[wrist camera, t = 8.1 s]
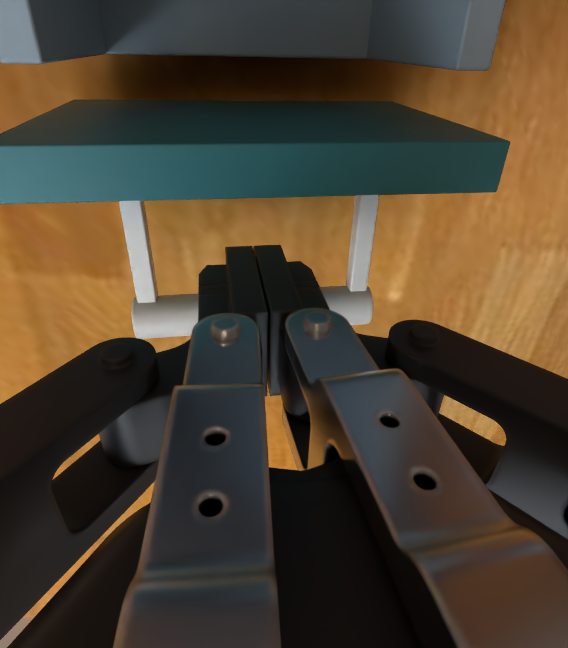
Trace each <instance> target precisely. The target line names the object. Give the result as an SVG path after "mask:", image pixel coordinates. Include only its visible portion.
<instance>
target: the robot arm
mask: <svg viewBox="0 0 568 648" xmlns="http://www.w3.org/2000/svg"><path fill="white" fill-rule="evenodd" d="M225 252H226V265H207V266H206V267H205V268H204V269H203V270H202V272H201V273H200V274H199V297H198V322H197V323H196V324H195V326H194V327H193V329H192V334H191V339H190V340H189V341H187V342H186V343H184V344H182V345H180V346H178V347H176V348H172V349H169V350H166V351H162V352H158V353H156V351H155V349H154V347H153V346H152V345H151V344H150V343H149V342H147V341H145V340H142V339H138V338H116V339H111V340H108V341H104V342H102V343H99V344H97V345H95V346H93V347H92V348H90V349H88V350H87V351H85V352H84V353H82V354H80V355H79V356H77V357H76V358H74V359H72V360H71V361H69V362H67V363H66V364H64V365H63V366H61V367H59V368H58V369H56V370H55V371H53V372H51V373H50V374H48V375H47V376H45V377H43V378H42V379H40V380H39V381H37V382H35V383H34V384H32V385H30V386H29V387H27V388H26V389H24V390H22V391H21V392H19V393H18V394H16V395H14V396H13V397H11V398H10V399H8V400H6V401H5V402H3V403H2V404H0V640H1V639H2V638H3V637H4V636H5V635H6V634H7V633H8V631H10V629H12V627H13V626H14V625H15V624H16V623H17V622H18V621H19V620H20V619H21V618H22V617H23V616H24V615H25V614H26V613H27V612H28V611H29V610H30V609H31V608H32V607H33V606H34V605H35V604H36V603H37V602H38V601H39V600H40V599H41V598H42V597H43V596H44V595H45V594H46V592H47V591H48V590H49V589H50V588H51V587H52V586H53V585H54V584H55V583H56V582H57V581H58V580H59V579H60V578H61V577H62V576H63V575H64V574H65V573H66V572H67V571H68V570H69V569H70V568H71V567H72V566H73V565H74V564H75V563H76V562H77V561H78V560H79V558H80V557H81V556H82V555H83V554H84V553H85V552H86V551H87V550H88V549H89V548H90V547H91V546H92V545H93V544H94V543H95V542H96V541H97V540H98V539H99V538H100V537H101V536H102V535H103V534H104V533H105V532H106V531H107V530H108V529H109V528H110V527H111V526H112V524H113V523H114V522H115V521H116V520H117V519H118V518H119V517H120V516H121V515H122V514H123V513H124V512H125V511H126V510H127V509H128V508H129V507H130V506H131V505H132V504H133V503H134V502H135V501H136V500H137V499H138V498H139V497H140V496H141V495H142V494H143V493H144V492H145V490H146V489H147V488H148V487H149V486H150V485H151V484H152V483H153V482H154V481H155V484H154V489H153V494H152V499H151V503H149V504H148V505H146V506H144V507H142V508H141V509H139V510H138V511H137V512H135V513H134V514H132V515H131V516H130V517H128V518H127V519H126V520H125V521H124V522H122V523H121V524H120V525H119V526H118V527H117V528H116V529H115V530H114V531H113V532H112V533H111V534H110V535H109V536H108V537H107V538H106V539H105V540H104V541H103V542H102V543H101V544H100V546H99V547H98V548H97V549H96V550H95V551H94V552H93V553H92V554H91V556H90V557H89V558H88V559H87V560H86V561H85V562H84V563H83V564H82V565H81V567H80V568H79V569H78V570H77V571H76V572H75V573H74V574H73V575H72V577H71V578H70V579H69V580H68V581H67V582H66V583H65V584H64V585H63V586H62V588H61V589H60V590H59V591H58V592H57V593H56V594H55V595H54V596H53V598H52V599H51V600H50V601H49V602H48V603H47V604H46V605H45V606H44V607H43V609H42V610H41V611H40V612H39V613H38V614H37V615H36V616H35V617H34V619H33V620H32V621H31V622H30V623H29V624H28V625H27V626H26V627H25V628H24V630H23V631H22V632H21V633H20V634H19V635H18V636H17V637H16V639H15V640H14V641H13V642H12V643H11V644H10V645H9V646H8V647H7V648H568V379H566V378H564V377H562V376H559V375H557V374H555V373H552V372H550V371H547V370H545V369H543V368H540V367H538V366H535V365H533V364H531V363H528V362H526V361H524V360H521V359H519V358H516V357H514V356H512V355H509V354H507V353H504V352H502V351H500V350H497V349H495V348H493V347H490V346H488V345H485V344H483V343H481V342H478V341H476V340H473V339H471V338H469V337H466V336H464V335H462V334H459V333H457V332H454V331H452V330H450V329H447V328H445V327H442V326H440V325H438V324H435V323H432V322H428V321H422V320H406V321H401V322H398V323H396V324H395V325H393V326H392V327H391V329H390V331H389V336H388V338H382V337H375V336H367V335H362V334H358V333H355V331H354V330H353V328H352V326H351V325H350V323H349V322H348V320H347V319H346V318H345V317H344V316H342V315H341V314H339V313H337V312H335V311H332V310H330V308H329V306H328V304H327V302H326V300H325V298H324V296H323V293H322V291H321V289H319V285H318V283H317V281H316V278H315V276H314V274H313V272H312V270H311V269H310V268H309V267H307V266H306V265H305V264H303V263H302V262H300V261H295V262H287V261H286V258H285V256H284V253H283V250H282V248H281V245H262V246H254V248H252V246H237V247H225ZM267 383H268V388H269V394H270V396H273V395H281V397H282V401H283V407H282V421H283V425H284V428H285V431H286V434H287V437H288V441H289V444H290V447H291V450H292V453H293V457H294V460H295V463H296V466H297V469H298V470H288V469H279V468H269V463H268V446H267V430H266V413H265V396H267ZM444 395H446V396H448V397H450V398H452V399H454V400H456V401H458V402H460V403H462V404H464V405H466V406H468V407H470V408H472V409H473V410H475V411H477V412H479V413H481V414H483V415H485V416H487V417H489V418H491V419H493V420H494V421H496V422H497V423H498V424H499V425H500V426H501V427H502V428H503V430H504V432H505V434H506V444H505V446H501V445H497V444H495V443H493V442H491V441H489V440H488V439H486V438H484V437H482V436H480V435H478V434H476V433H475V432H473V431H471V430H469V429H467V428H465V427H464V426H462V425H460V424H458V423H456V422H454V421H452V420H451V419H449V418H447V417H445V416H443V415H441V414H440V413H439V410H440V407H441V403H442V400H443V396H444ZM97 434H99V436H100V441H99V442H98V443H97V444H96V445H94V446H93V447H92V448H91V449H90V450H88V451H87V452H86V453H85V454H84V455H82V456H81V457H80V458H79V459H78V460H76V461H75V462H74V463H73V464H71V465H70V466H69V467H68V468H67V469H65V470H64V471H63V472H62V473H61V474H59V475H58V476H57V477H56V478H55V479H53V476H54V474H55V472H56V471H57V469H58V468H59V467H60V465H61V464H62V463H63V462H64V461H65V460H66V459H68V458H69V457H70V456H71V455H73V454H74V453H75V452H76V451H78V450H79V449H80V448H81V447H82V446H84V445H85V444H86V443H87V442H89V441H90V440H91V439H92V438H94V437H95V436H96V435H97ZM52 479H53V480H52Z"/></svg>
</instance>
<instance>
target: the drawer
mask: <svg viewBox="0 0 568 648" xmlns="http://www.w3.org/2000/svg"><path fill="white" fill-rule="evenodd" d="M505 2H506V0H0V62H2V63H23V64H42V63H49V62H56V61H62V60H69V59H75V58H82V57H88V56H95V55H101V54H135V55H188V56H241V57H295V58H348V59H372V60H380V61H388V62H396V63H404V64H412V65H420V66H428V67H435V68H443V69H451V70H469V71H486V70H489V68H490V65H491V61H492V57H493V53H494V48H495V44H496V40H497V36H498V31H499V27H500V23H501V19H502V14H503V10H504V6H505ZM509 145H510V141H508V140H505V139H502V138H499V137H496V136H493V135H490V134H487V133H484V132H481V131H478V130H475V129H472V128H469V127H466V126H463V125H460V124H457V123H454V122H451V121H448V120H445V119H443V118H440V117H437V116H434V115H431V114H428V113H425V112H422V111H419V110H416V109H413V108H410V107H407V106H404V105H401V104H398V103H395V102H392V101H226V100H72V101H70V102H68V103H66V104H64V105H61V106H59V107H57V108H55V109H53V110H51V111H49V112H46V113H44V114H42V115H40V116H38V117H36V118H33V119H31V120H29V121H27V122H25V123H23V124H20V125H18V126H16V127H14V128H12V129H10V130H7V131H5V132H3V133H1V134H0V204H23V203H65V202H106V201H119V205H120V210H121V216H122V221H123V227H124V232H125V237H126V243H127V248H128V254H129V259H130V265H131V270H132V276H133V281H134V287H135V292H136V297H135V298H134V299H133V302H132V325H133V330H134V333H135V336H136V337H137V338H138V339H144V338H160V337H175V336H191V334H192V329H193V327H194V326H195V324H196V323H197V322H198V297H199V294H181V295H162V296H157V295H158V290H157V284H156V277H155V271H154V264H153V258H152V251H151V244H150V238H149V231H148V225H147V218H146V212H145V205H144V201H148V200H190V199H231V198H273V197H315V196H355V204H354V213H353V222H352V232H351V241H350V250H349V260H348V269H347V278H346V285H347V286H335V287H319V289H321V291H322V293H323V296H324V298H325V300H326V302H327V304H328V306H329V308H330V310H332V311H335V312H337V313H339V314H341V315H342V316H344V317H345V318H346V319H347V320H348V322H349V323H350V325H361V324H368V323H370V321H371V319H372V315H373V299H372V294H371V291H370V289H369V287H368V286H367V282H368V275H369V267H370V260H371V253H372V245H373V238H374V231H375V224H376V216H377V209H378V202H379V195H398V194H440V193H481V192H496V191H497V189H498V185H499V181H500V178H501V174H502V171H503V167H504V163H505V160H506V156H507V153H508V149H509Z"/></svg>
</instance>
